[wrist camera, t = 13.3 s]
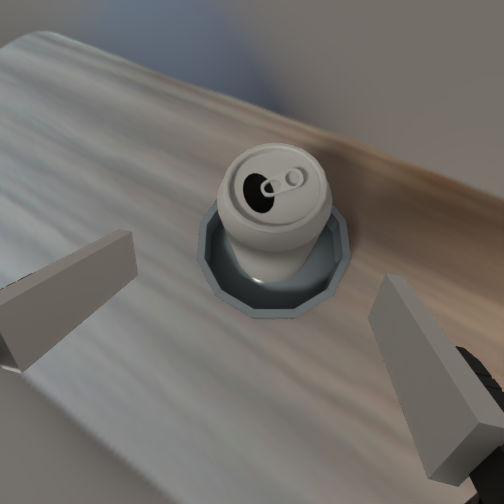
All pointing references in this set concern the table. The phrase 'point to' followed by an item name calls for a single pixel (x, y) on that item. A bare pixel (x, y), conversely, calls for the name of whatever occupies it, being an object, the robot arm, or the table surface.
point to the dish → (275, 293)
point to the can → (274, 209)
